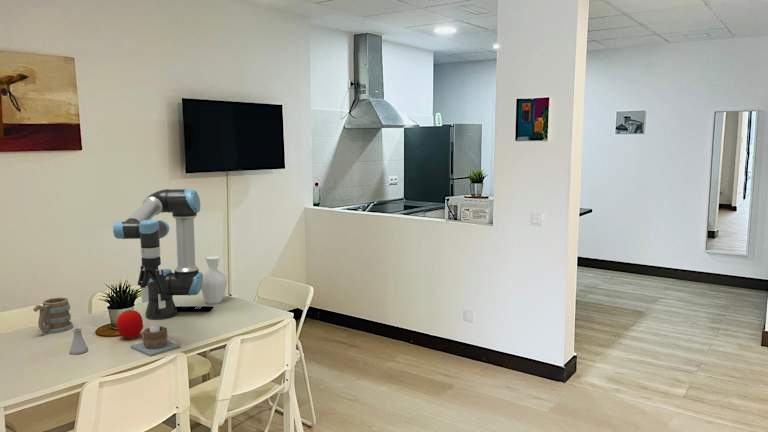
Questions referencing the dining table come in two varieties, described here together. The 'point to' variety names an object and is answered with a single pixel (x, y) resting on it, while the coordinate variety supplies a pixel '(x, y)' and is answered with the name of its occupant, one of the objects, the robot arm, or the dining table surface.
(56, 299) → the tankard
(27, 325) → the dining table surface
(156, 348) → the post fixture
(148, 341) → the collar
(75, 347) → the flask
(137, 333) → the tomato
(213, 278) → the vase
